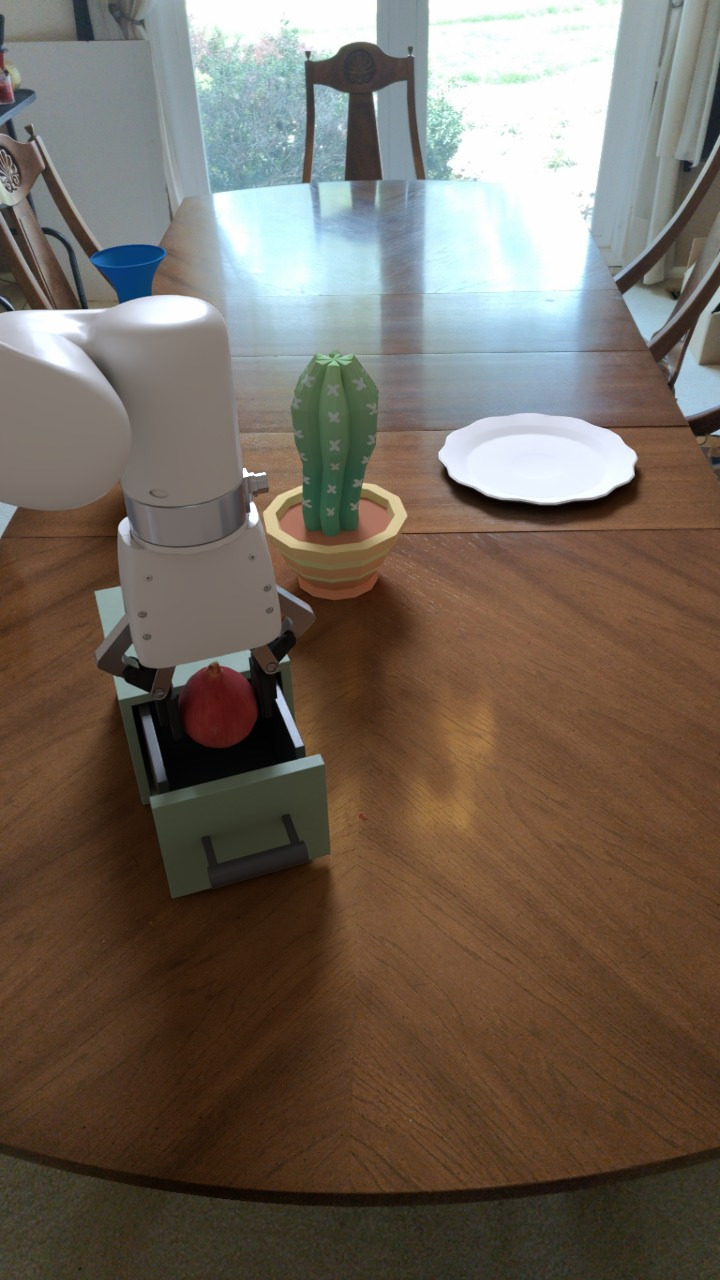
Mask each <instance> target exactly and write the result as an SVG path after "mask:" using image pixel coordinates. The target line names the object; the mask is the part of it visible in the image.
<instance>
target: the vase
mask: <svg viewBox="0 0 720 1280" xmlns="http://www.w3.org/2000/svg"><path fill="white" fill-rule="evenodd" d="M166 256H167V251H166V249H165V248H163V247H161V246H158V245H153V244H146V243H145V244H143V243H142V244H141V243H136V244H135V243H133V244H124V245H122V244H121V245H117V246H112V247H107V248H105V249H101V250H98V251H97V252H95V253H94V254H92V255H91V256H90V258H89V261H90V263H91V264H92V265H93V266H94V267H96V269H98V270H99V271H100V272H102V273H103V274H104V275H105V276H106V277H107V279H108V280H109V281H110V283H111V284H112V286H113V288H114V291H115V293H116V296H117V300H118V305H119V304H122V303H124V302H127V301H130V300H134V299H137V298H142V297H148V296H153V282H154V278H155V275H156V272H157V270H158V268H159V267H160V264H161V263H162V261H163V260H164V259H165V258H166Z"/></svg>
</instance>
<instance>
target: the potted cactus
mask: <svg viewBox="0 0 720 1280" xmlns="http://www.w3.org/2000/svg"><path fill="white" fill-rule="evenodd" d="M293 392H294V396H293V400H292V402H291V405H290V413H291V421H292V431H293V438H294V444H295V447H296V450H297V452H298V455H299V458H300V461H301V465H302V485H299V486H297V487H294V488H292V489H289V490H287V491H285V492H282V493H280V494H278V495H276V497H275V498H274V499H273V500H272V501H271V503H270V504H269V505H268V506H267V508H266V509H265V510H264V511H263V512H262V516H263V521H264V524H265V530H266V533H267V536H268V539H269V542H270V545H272V546H274V547H275V548H276V549H278V550H279V553H280V554H281V555H282V558H283V559H284V562H285V564H286V566H288V568H290V570H291V571H293V572H294V573H295V574H296V576H297V580H298V583H299V588H300V589H301V590H303V591H304V592H306V593H308V594H309V595H310V596H312V597H314V598H319V599H325V600H330V601H339V600H345V599H346V600H347V599H355V598H357V597H359V596H361V595H363V594H365V593H367V592H369V591H371V590H372V589H373V588H374V586H375V584H376V583H377V581H378V579H379V575H378V571H379V570H380V569H381V568H382V567H383V565H384V564H385V562H386V560H387V558H388V556H389V555H390V553H391V551H392V548H393V547H395V545H396V543H397V542H398V539H400V536H401V535H402V533H403V531H404V530H405V527H406V524H407V520H408V517H409V515H408V513H407V510H406V508H405V507H404V504H403V502H402V500H401V498H400V497H399V496H398V495H395V494H394V493H392V492H391V491H388V490H386V489H384V488H383V487H381V486H380V485H377V484H375V483H366V482H364V479H365V474H366V469H367V466H368V464H369V461H370V459H371V456H372V454H373V452H374V450H375V447H376V445H377V434H378V414H379V397H380V396H379V393H380V390H379V388H378V386H377V385H376V383H375V382H374V380H373V379H372V377H371V376H370V375H369V373H368V372H367V370H366V369H365V368H364V367H363V364H361V362H360V361H359V359H358V358H357V357H356V355H355V354H354V353H349V354H346V355H343V354H342V353H341V352H340V351H339V350H338V349H333V350H331V351H330V352H329V354H328V355H325V354H323V353H321V352H316V353H315V354H314V355H313V357H312V358H311V360H310V361H309V362H308V364H307V366H306V367H305V368H304V370H303V371H302V372H301V374H300V375H299V377H298V380H297V382H296V385H295V388H294V390H293Z"/></svg>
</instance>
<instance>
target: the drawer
mask: <svg viewBox="0 0 720 1280" xmlns="http://www.w3.org/2000/svg"><path fill="white" fill-rule="evenodd" d="M275 678H276V677H275ZM247 681H248V682H249V683H250V685H251V686H252V682H251V678H249V679H247ZM276 688H277V699H274V700H270V701H271V710H272V717H270V718H265V717H262V716H261V713H260V711H259V708H258V718H257V720H256V722H255V724H254V726H253V728H252V730H251V732H250V734H249V735H248V736H246V737H245V738H244V739H243V740H242V741H240V742H239V743H237V744H235V745H232V746H230V747H227V748H212V747H207V746H204V745H202V744H200V743H198V742H196V741H195V740H193V739H192V738H191V737H190V736H189V735H188V734H187V733H186V732H185V730H184V729H183V728H182V729H183V734H184V737H181V739H179V740H174V737H173V733H172V730H171V726H170V725H165V726H161V725H160V721H159V717H158V712H157V708H156V703H155V700H154V701H150V702H145V703H141V704H137V707H138V711H139V716H140V721H141V725H142V730H143V734H144V739H145V744H146V748H147V753H148V757H149V762H150V766H151V771H152V775H153V779H154V783H155V787H156V791H157V795H156V796H152V797H149V799H150V803H149V804H150V808H151V812H152V817H153V821H154V825H155V830H156V834H157V839H158V844H159V848H160V853H161V856H162V857H161V858H162V861H163V865H164V871H165V874H166V879H167V883H168V888H169V891H170V892H169V894H170V896H171V899H172V900H173V899H177V898H180V897H184V896H187V895H191V894H195V893H198V892H202V891H206V890H209V889H211V890H216V889H219V888H222V887H225V886H226V887H227V886H229V885H233V884H237V883H241V882H244V881H248V880H252V879H255V878H258V877H262V876H265V875H269V874H273V873H276V872H279V871H283V870H286V869H291V868H294V867H296V866H300V865H304V864H308V863H309V862H310V861H311V860H316V859H318V858H322V857H327V856H330V855H331V854H332V851H331V837H330V836H331V835H330V821H329V804H328V803H329V802H328V791H327V773H326V763H325V761H324V758H323V756H322V755H321V753H317V754H313V755H309V756H307V753H306V744H305V742H304V740H303V738H302V735H301V733H300V731H299V728H298V726H297V724H295V722H296V720H295V721H294V719H293V717H292V714H291V712H290V710H289V707H288V705H287V703H286V700H285V698H284V696H283V693H282V691H281V689H280V686H279V684H278V682H277V680H276ZM176 697H177V702H178V699H179V695H176Z"/></svg>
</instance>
